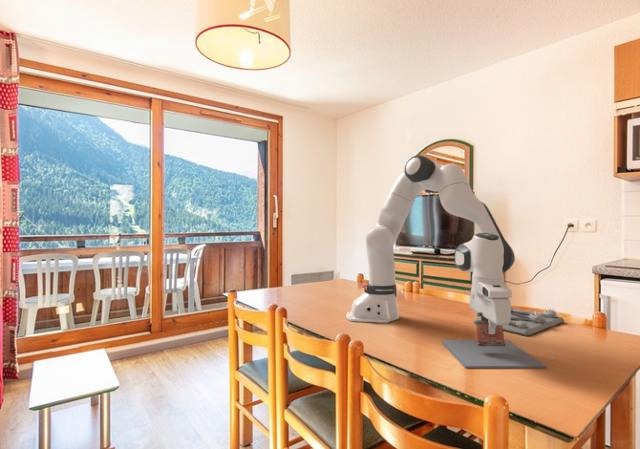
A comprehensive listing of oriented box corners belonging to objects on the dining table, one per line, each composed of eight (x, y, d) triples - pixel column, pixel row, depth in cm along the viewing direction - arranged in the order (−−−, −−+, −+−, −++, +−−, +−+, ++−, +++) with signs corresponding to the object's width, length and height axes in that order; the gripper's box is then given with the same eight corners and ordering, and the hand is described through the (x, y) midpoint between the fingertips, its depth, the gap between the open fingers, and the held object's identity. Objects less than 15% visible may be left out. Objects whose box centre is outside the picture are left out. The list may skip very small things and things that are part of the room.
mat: (465, 368, 99) (465, 366, 99) (440, 341, 121) (440, 340, 121) (546, 368, 98) (546, 365, 98) (507, 341, 120) (507, 339, 120)
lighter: (502, 345, 109) (499, 311, 111) (507, 346, 106) (503, 312, 108) (475, 345, 110) (472, 311, 112) (479, 346, 107) (475, 312, 109)
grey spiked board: (510, 312, 159) (510, 296, 159) (565, 323, 141) (565, 305, 141) (471, 324, 142) (471, 306, 142) (528, 338, 124) (527, 318, 124)
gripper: (464, 281, 120) (465, 322, 120) (492, 293, 100) (492, 342, 100) (483, 280, 120) (484, 322, 120) (515, 293, 99) (515, 342, 100)
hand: (488, 331), depth 110 cm, fingers closed on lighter, 2 cm apart
